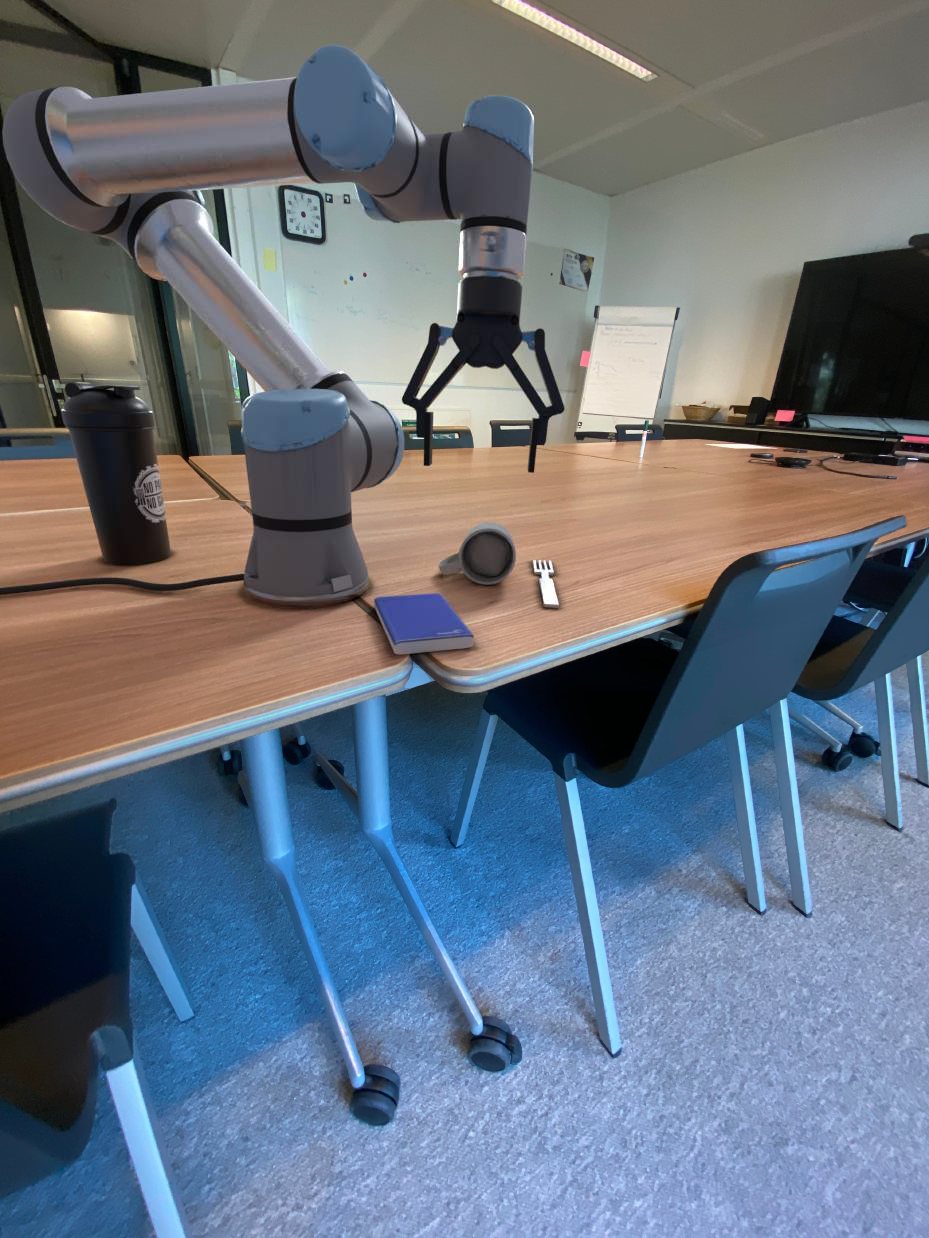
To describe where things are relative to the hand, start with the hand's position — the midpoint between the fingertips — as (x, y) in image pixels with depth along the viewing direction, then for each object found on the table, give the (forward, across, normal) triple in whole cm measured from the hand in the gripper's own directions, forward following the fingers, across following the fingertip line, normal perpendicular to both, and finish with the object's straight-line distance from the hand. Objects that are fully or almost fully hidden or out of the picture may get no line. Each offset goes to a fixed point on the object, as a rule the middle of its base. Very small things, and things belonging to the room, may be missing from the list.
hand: (479, 468), depth 70 cm
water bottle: (+16, -49, -1) cm, 51 cm away
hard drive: (+15, -5, -19) cm, 25 cm away
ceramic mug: (+15, +1, 0) cm, 15 cm away
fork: (+15, +10, -1) cm, 18 cm away
